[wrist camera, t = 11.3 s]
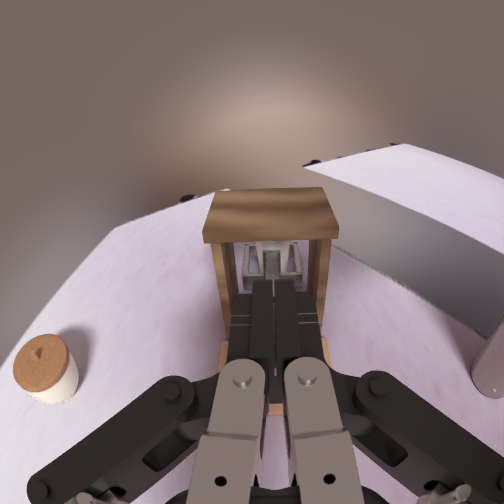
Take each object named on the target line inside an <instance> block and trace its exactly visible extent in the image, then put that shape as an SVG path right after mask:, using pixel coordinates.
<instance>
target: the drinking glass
mask: <svg viewBox="0 0 504 504" xmlns="http://www.w3.org/2000/svg"><path fill="white" fill-rule="evenodd" d="M255 245H256V251H257V257H258V263H259V271H260V273H264V269H263V250H280V256H281V272H287V267H288V257H289V247H290V240H282V241H255Z"/></svg>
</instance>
